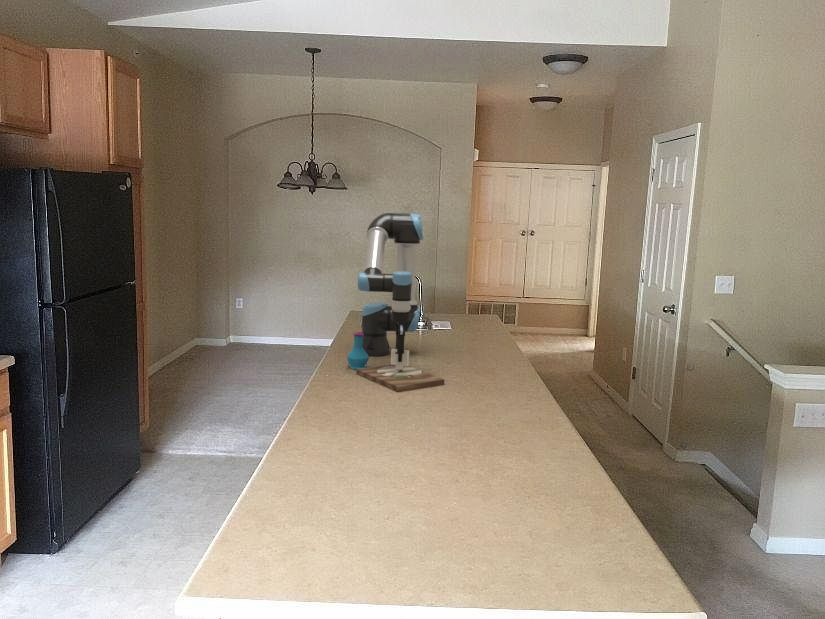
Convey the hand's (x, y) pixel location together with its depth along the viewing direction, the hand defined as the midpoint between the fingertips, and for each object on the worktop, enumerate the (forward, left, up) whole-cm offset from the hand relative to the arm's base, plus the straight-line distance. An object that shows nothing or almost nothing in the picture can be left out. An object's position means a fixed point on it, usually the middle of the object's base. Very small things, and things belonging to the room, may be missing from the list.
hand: (399, 368), depth 265 cm
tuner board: (+3, -2, -4) cm, 5 cm away
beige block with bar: (+3, -3, -1) cm, 4 cm away
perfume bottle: (-21, -7, -4) cm, 22 cm away
